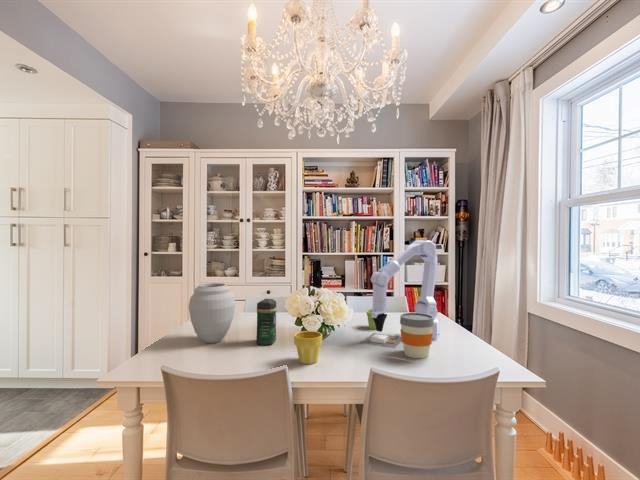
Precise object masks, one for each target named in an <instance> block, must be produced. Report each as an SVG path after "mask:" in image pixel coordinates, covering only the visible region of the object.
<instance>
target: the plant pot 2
mask: <svg viewBox="0 0 640 480" xmlns="http://www.w3.org/2000/svg"><path fill="white" fill-rule="evenodd" d="M365 313H366V316H367V323H368V329H370V330H374V331H375V330H376V326H375V322H374V320H373V318H372V317H371V313H372V311H370V309H367V310H366V311H365ZM383 314H385V313H383ZM376 331H377V330H376Z"/></svg>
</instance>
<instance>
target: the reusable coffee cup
mask: <svg viewBox="0 0 640 480" xmlns="http://www.w3.org/2000/svg"><path fill="white" fill-rule="evenodd" d="M399 324H400V327H401V328H400V337H401V338H402V342H401V343H402V344H403V352H404V355H405V356H406V357H409V358H413V359H425V358H428V357H429V356H430V355H429V354H430V349H431V348H430V347H431V345H432V342H433V341H432V336H433V332H432V327H433V325H434V323H433V317H432V316H430V315H427V314H422V313H415V312H405V313H402V314H400V317H399Z"/></svg>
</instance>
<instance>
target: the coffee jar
mask: <svg viewBox="0 0 640 480" xmlns="http://www.w3.org/2000/svg"><path fill="white" fill-rule="evenodd" d="M276 340H277V301H276V300H275V299H274V298H264V299H262V300H261V301H258V302H257V303H256V344H257V345H261V346H267V345H268V346H269V345H273V344H274V343H275V342H276Z"/></svg>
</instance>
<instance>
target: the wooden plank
mask: <svg viewBox="0 0 640 480" xmlns="http://www.w3.org/2000/svg"><path fill="white" fill-rule="evenodd" d="M392 336H393V337H392V338H391V340H388V341H387V342H386V343H389V344H394V343H395V342H396V341H395V340H396V339H397V338H399V337H400V335H399V334H397V333H396V334H394V335H392Z"/></svg>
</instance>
